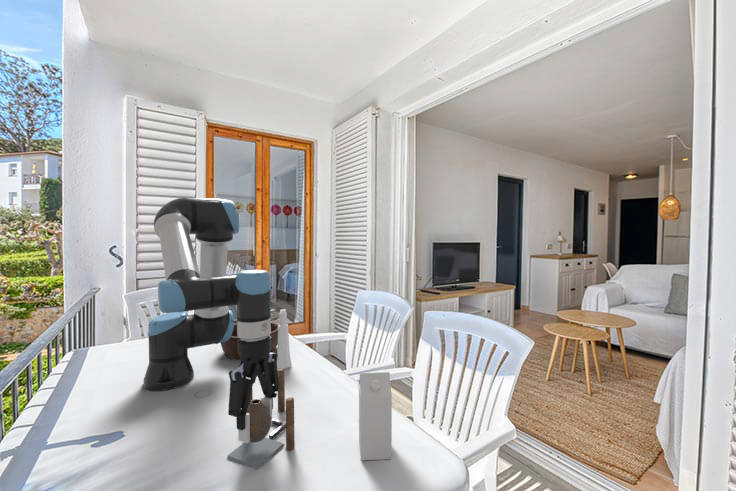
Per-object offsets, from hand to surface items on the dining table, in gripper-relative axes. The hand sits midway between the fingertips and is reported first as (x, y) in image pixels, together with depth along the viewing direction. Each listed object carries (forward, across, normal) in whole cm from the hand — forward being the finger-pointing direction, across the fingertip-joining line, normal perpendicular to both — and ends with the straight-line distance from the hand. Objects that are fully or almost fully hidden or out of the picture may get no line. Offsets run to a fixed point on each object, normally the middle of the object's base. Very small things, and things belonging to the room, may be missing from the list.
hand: (256, 432), depth 81 cm
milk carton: (+5, +12, -25) cm, 29 cm away
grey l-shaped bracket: (+5, +8, +5) cm, 11 cm away
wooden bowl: (+5, +51, +50) cm, 71 cm away
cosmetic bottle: (+5, +44, +27) cm, 52 cm away
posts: (+5, +11, 0) cm, 12 cm away
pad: (+5, 0, 0) cm, 5 cm away
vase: (+2, 0, 0) cm, 2 cm away
